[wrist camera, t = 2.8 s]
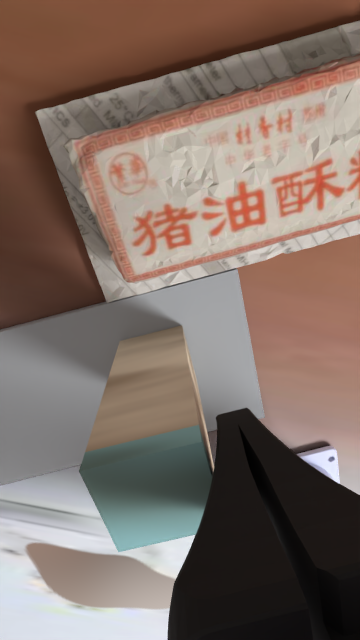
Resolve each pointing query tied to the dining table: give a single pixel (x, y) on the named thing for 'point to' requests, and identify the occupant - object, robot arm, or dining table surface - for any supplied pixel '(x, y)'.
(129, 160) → the packaged product
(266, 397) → the dining table surface
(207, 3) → the dining table surface
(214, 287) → the grey mat
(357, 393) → the dining table surface
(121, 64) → the dining table surface
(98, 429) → the maple block
